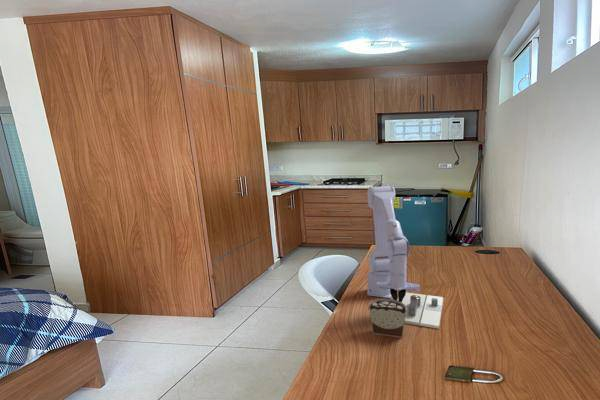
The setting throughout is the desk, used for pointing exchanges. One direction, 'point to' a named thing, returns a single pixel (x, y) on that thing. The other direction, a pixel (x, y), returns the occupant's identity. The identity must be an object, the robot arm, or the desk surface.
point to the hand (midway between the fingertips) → (397, 308)
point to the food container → (387, 317)
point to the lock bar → (414, 304)
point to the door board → (424, 311)
